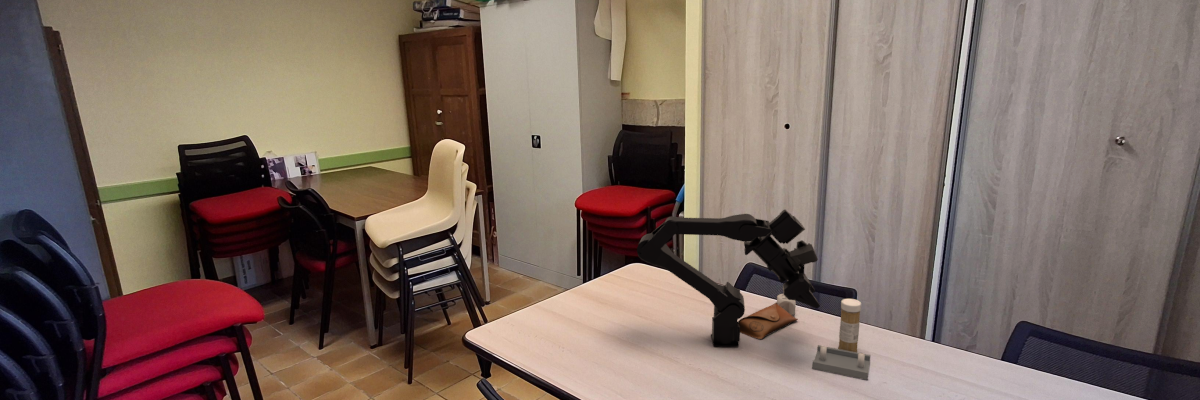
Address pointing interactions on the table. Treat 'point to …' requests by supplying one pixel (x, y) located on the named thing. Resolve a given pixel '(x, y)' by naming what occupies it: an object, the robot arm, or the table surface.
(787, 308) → the die
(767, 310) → the sunglasses case
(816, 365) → the tray
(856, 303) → the sprinkles bottle
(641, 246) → the robot arm
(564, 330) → the table surface
